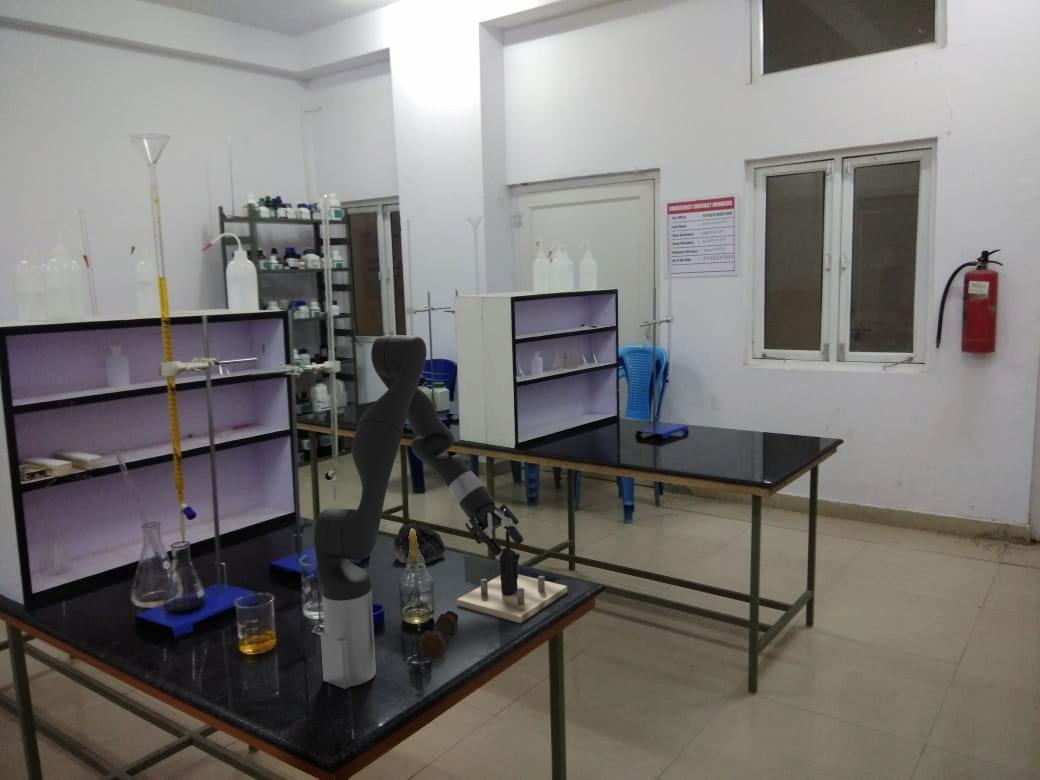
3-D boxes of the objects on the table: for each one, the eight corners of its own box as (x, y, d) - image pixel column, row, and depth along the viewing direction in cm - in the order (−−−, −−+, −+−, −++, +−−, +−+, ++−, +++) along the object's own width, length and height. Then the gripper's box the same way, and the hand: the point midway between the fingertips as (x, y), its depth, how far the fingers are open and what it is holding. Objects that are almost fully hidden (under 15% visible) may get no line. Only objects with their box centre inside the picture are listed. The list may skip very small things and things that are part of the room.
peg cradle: (520, 623, 171) (519, 601, 170) (457, 605, 181) (456, 585, 180) (567, 592, 187) (566, 572, 186) (506, 577, 197) (506, 558, 196)
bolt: (455, 633, 171) (435, 664, 156) (436, 621, 172) (414, 650, 157) (467, 612, 170) (448, 641, 155) (448, 599, 171) (427, 628, 156)
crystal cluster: (452, 563, 210) (452, 526, 210) (405, 568, 204) (405, 531, 203) (433, 552, 222) (433, 518, 222) (388, 557, 215) (388, 522, 215)
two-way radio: (507, 586, 187) (504, 527, 185) (524, 588, 186) (521, 528, 184) (499, 596, 182) (496, 535, 180) (517, 597, 180) (514, 536, 178)
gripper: (460, 492, 180) (501, 548, 175) (496, 478, 191) (536, 530, 186) (444, 510, 183) (483, 566, 178) (480, 496, 195) (518, 548, 190)
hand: (510, 548), depth 182 cm, fingers open, 8 cm apart
